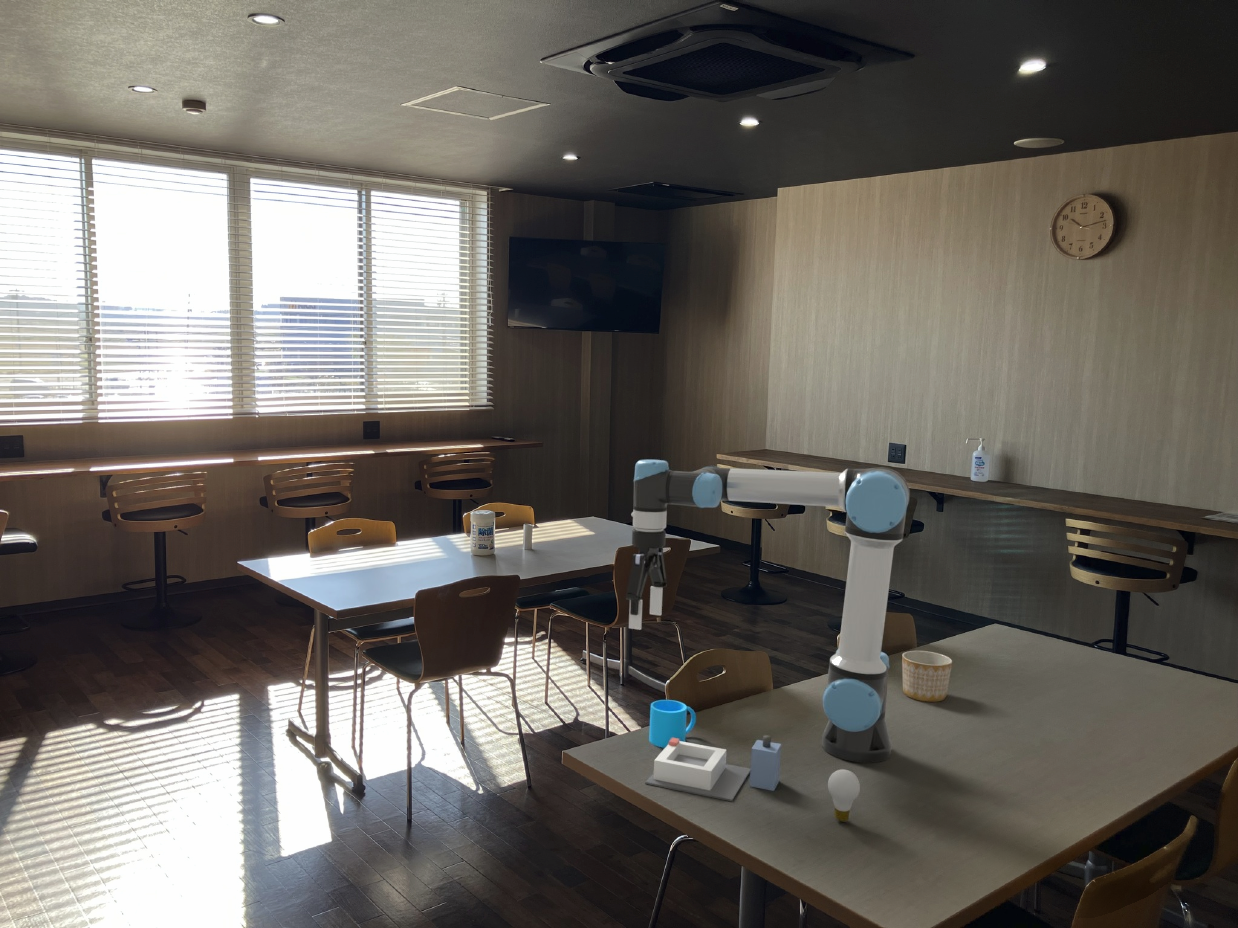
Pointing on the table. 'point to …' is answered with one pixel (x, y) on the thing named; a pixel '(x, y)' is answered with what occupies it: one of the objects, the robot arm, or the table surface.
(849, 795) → the light bulb
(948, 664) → the planter
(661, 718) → the mug
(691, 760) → the socket
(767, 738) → the plug
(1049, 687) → the table surface
